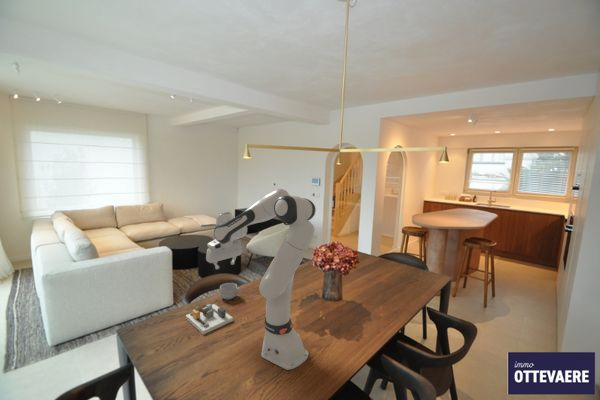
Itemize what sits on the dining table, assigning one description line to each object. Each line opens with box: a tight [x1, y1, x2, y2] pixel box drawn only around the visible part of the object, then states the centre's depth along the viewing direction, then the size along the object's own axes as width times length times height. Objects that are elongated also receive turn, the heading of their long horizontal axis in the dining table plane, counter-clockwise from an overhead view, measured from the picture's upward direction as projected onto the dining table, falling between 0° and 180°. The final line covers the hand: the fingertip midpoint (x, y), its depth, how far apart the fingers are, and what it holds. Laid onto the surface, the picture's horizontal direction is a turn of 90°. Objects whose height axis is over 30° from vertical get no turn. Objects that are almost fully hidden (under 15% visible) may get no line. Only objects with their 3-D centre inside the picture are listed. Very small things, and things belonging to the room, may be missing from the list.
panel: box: [185, 303, 234, 336], centre depth 144 cm, size 20×17×6 cm
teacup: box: [219, 282, 242, 301], centre depth 169 cm, size 14×11×8 cm
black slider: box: [218, 306, 227, 318], centre depth 145 cm, size 4×2×4 cm, turn 47°
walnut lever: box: [194, 305, 208, 314], centre depth 143 cm, size 3×2×10 cm
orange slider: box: [191, 308, 200, 319], centre depth 143 cm, size 4×2×4 cm, turn 47°
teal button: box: [205, 303, 213, 309], centre depth 152 cm, size 3×3×2 cm
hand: (225, 266), depth 145 cm, fingers open, 8 cm apart
